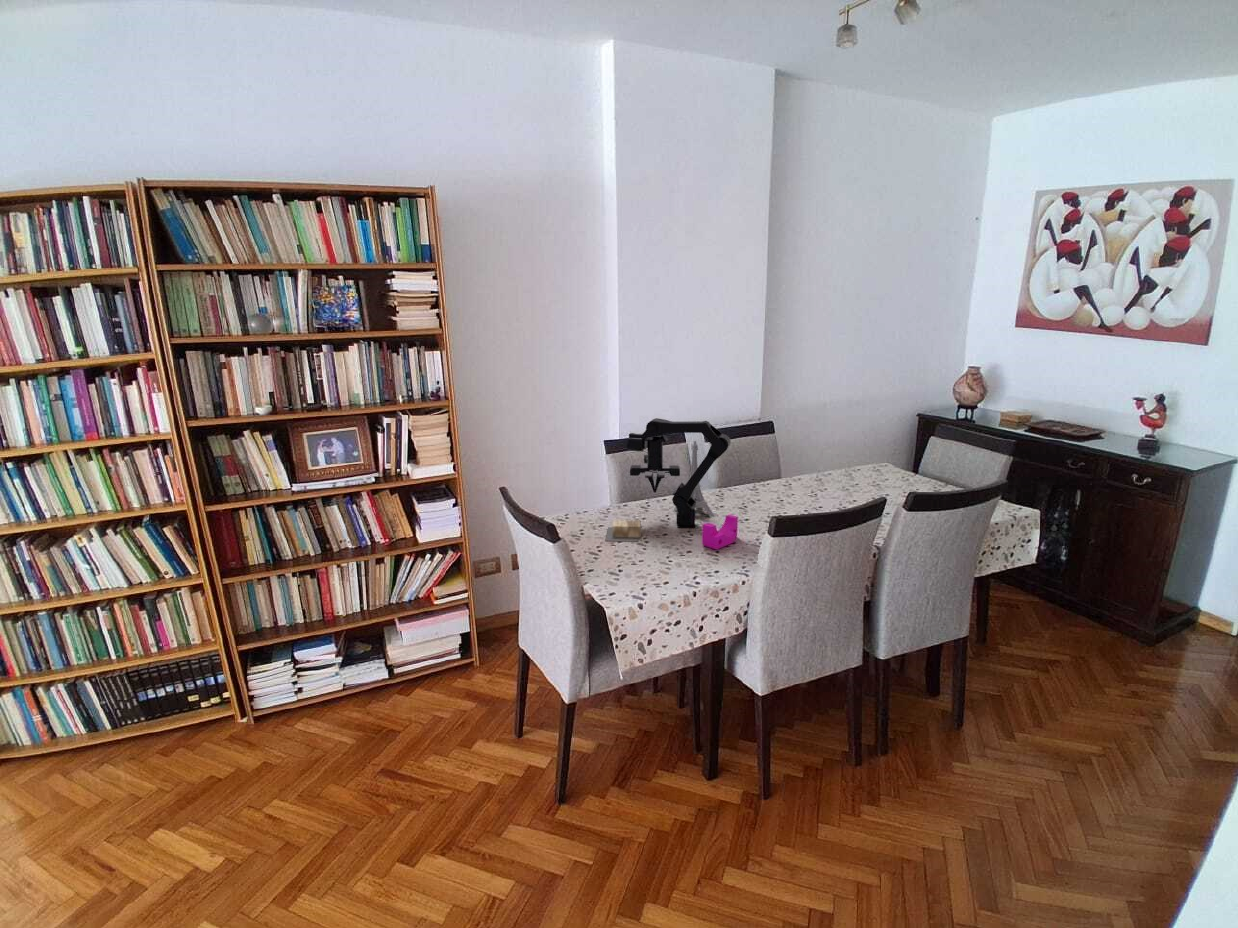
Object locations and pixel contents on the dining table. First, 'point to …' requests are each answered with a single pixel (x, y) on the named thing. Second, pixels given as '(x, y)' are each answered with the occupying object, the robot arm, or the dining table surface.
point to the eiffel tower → (697, 492)
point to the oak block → (627, 529)
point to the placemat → (622, 539)
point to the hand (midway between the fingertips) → (654, 492)
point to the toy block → (720, 533)
